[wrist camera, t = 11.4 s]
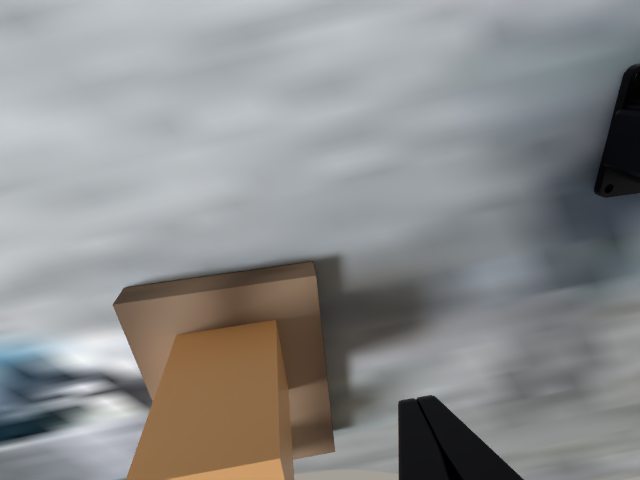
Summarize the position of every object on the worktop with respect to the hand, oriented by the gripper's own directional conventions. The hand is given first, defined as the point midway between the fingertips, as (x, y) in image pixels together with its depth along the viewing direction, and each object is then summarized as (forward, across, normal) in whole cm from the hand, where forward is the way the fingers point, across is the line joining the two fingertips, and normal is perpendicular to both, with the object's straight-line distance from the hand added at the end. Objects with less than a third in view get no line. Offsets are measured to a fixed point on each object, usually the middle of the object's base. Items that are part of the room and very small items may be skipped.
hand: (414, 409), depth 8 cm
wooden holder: (+11, +7, +9) cm, 16 cm away
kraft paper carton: (+10, +7, +7) cm, 14 cm away
